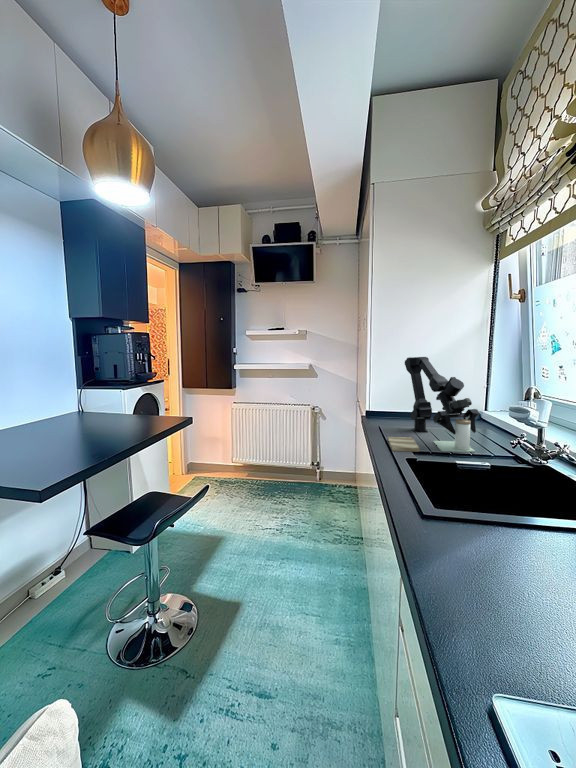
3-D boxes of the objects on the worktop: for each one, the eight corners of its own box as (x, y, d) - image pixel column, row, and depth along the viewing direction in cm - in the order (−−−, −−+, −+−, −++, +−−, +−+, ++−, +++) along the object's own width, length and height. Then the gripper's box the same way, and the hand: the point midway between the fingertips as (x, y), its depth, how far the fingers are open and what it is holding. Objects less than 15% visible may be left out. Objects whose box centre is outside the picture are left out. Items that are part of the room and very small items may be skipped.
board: (387, 440, 153) (387, 436, 153) (412, 440, 151) (412, 437, 151) (392, 450, 138) (392, 447, 137) (419, 451, 136) (419, 448, 135)
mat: (433, 442, 148) (433, 440, 148) (463, 442, 146) (464, 441, 146) (441, 451, 136) (441, 449, 135) (475, 452, 133) (475, 450, 133)
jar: (451, 447, 138) (452, 420, 136) (458, 445, 141) (459, 418, 139) (465, 451, 133) (466, 422, 131) (472, 448, 136) (473, 420, 135)
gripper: (437, 392, 136) (454, 424, 127) (477, 390, 139) (496, 421, 130) (426, 407, 145) (441, 438, 136) (464, 405, 148) (481, 435, 138)
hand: (465, 433), depth 135 cm, fingers open, 9 cm apart
